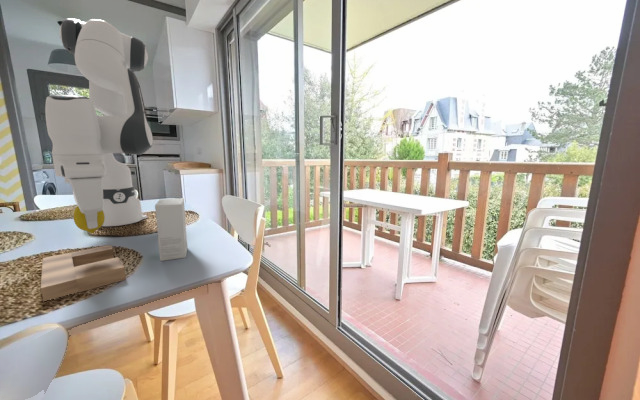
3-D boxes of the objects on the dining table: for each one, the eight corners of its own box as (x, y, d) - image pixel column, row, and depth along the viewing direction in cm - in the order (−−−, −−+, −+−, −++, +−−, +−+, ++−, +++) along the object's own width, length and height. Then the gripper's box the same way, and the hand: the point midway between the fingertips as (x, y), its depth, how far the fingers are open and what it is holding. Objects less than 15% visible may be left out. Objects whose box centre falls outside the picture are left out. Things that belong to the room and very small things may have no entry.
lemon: (89, 237, 60) (83, 203, 58) (70, 236, 61) (64, 202, 59) (112, 230, 65) (107, 199, 64) (95, 229, 66) (89, 198, 65)
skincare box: (164, 250, 76) (158, 199, 73) (189, 247, 79) (184, 197, 76) (159, 261, 68) (153, 204, 66) (187, 258, 71) (182, 202, 68)
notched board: (45, 269, 64) (42, 257, 63) (111, 254, 73) (110, 244, 72) (43, 302, 50) (40, 288, 49) (126, 279, 59) (124, 267, 59)
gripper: (60, 166, 65) (70, 219, 67) (64, 170, 51) (76, 237, 53) (93, 165, 69) (101, 215, 72) (105, 169, 55) (114, 230, 58)
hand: (91, 224), depth 62 cm, fingers closed on lemon, 5 cm apart
